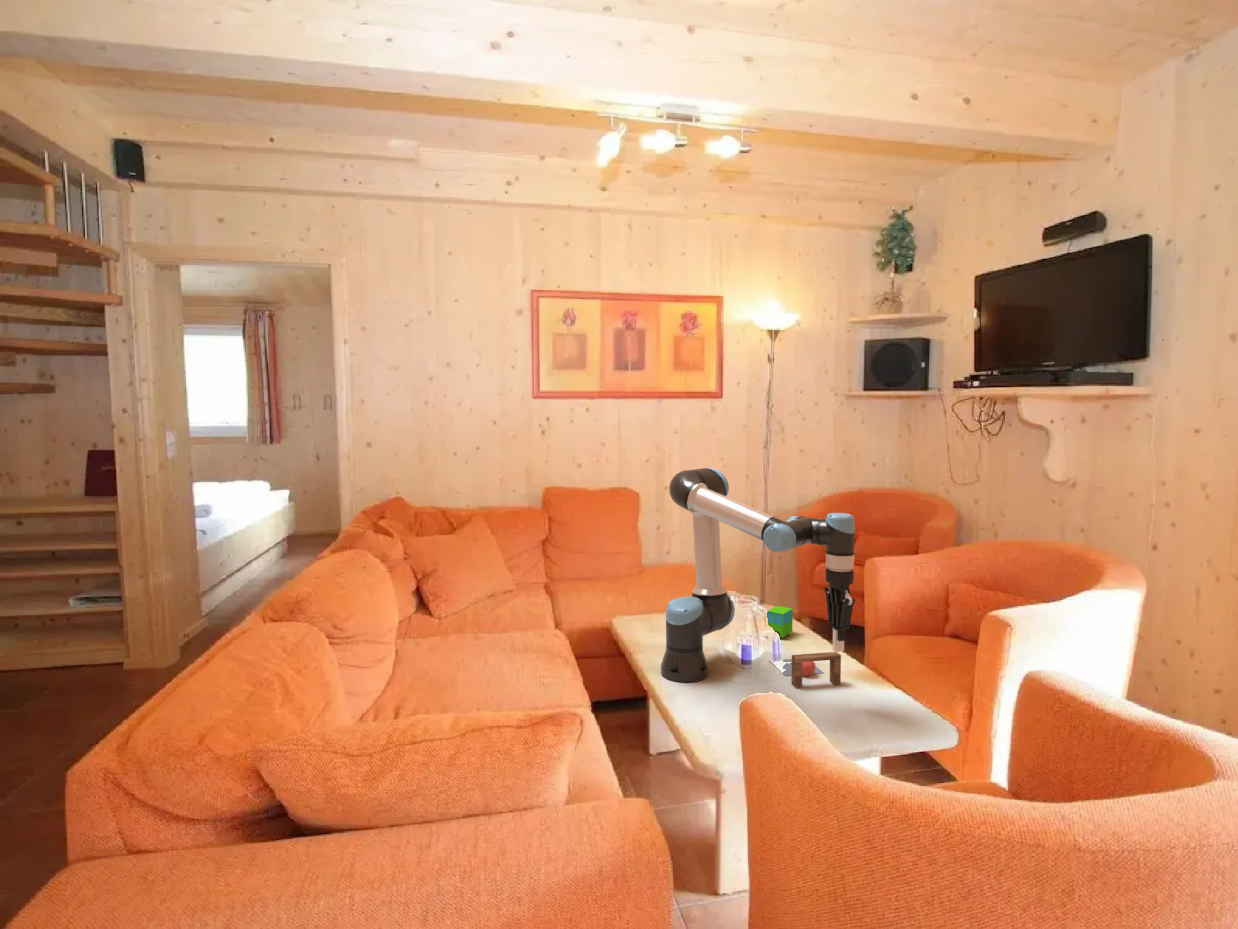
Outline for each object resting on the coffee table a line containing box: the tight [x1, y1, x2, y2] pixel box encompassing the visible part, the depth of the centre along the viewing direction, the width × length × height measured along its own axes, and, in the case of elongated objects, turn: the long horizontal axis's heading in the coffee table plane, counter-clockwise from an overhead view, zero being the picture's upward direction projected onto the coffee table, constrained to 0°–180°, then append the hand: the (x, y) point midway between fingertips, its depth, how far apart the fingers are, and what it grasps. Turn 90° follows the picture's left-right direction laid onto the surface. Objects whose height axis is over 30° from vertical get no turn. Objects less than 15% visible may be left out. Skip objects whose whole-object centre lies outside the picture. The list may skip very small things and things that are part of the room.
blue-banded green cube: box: [766, 605, 794, 639], centre depth 242 cm, size 10×13×10 cm
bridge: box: [790, 651, 842, 689], centre depth 196 cm, size 3×14×9 cm, turn 100°
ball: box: [802, 661, 816, 677], centre depth 203 cm, size 6×6×6 cm
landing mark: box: [782, 658, 825, 677], centre depth 210 cm, size 13×13×1 cm
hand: (838, 650), depth 182 cm, fingers closed
